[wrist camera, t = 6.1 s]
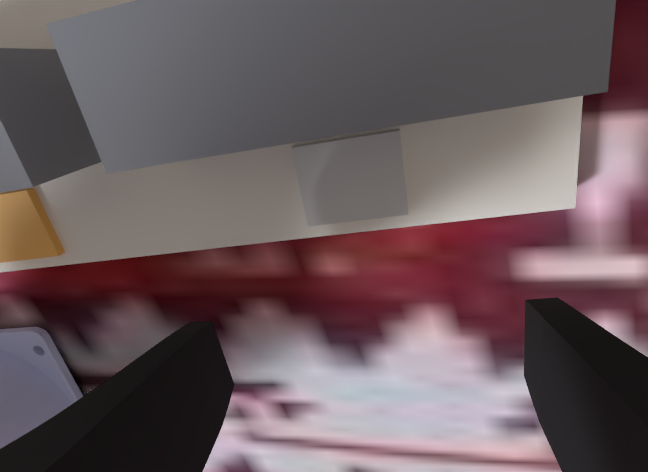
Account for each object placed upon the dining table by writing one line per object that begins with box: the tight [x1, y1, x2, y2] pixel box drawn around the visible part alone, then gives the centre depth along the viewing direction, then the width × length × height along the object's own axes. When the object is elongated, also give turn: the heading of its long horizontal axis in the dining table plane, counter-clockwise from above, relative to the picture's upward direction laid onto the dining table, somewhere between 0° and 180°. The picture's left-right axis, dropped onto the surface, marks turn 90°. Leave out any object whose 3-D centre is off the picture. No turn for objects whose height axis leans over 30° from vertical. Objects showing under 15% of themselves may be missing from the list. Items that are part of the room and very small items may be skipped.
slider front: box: [46, 0, 616, 173], centre depth 9 cm, size 3×10×3 cm, turn 100°
